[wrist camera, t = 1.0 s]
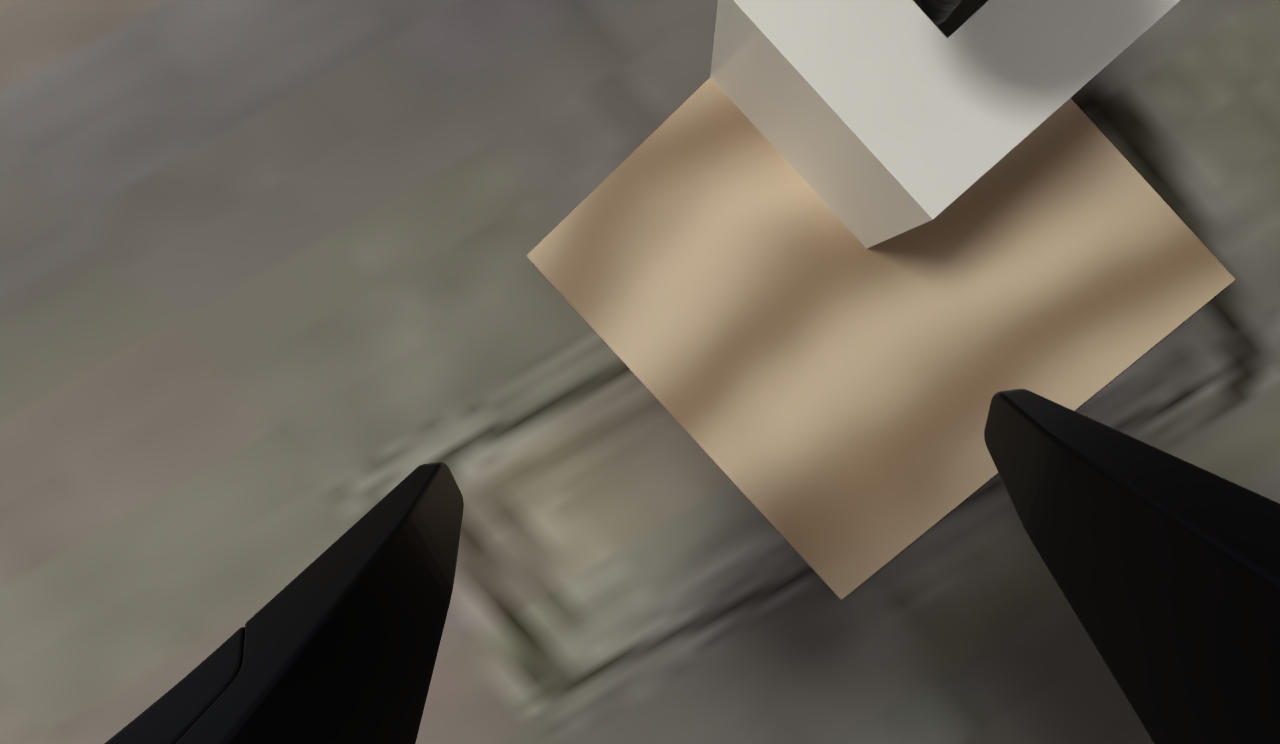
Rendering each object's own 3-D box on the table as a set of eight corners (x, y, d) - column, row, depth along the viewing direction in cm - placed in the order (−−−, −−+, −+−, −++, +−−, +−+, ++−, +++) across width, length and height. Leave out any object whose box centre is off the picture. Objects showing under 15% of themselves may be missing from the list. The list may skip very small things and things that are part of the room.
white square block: (1054, 80, 21) (1197, -16, 15) (866, 248, 22) (932, 219, 16) (891, -99, 21) (971, -265, 15) (710, 77, 22) (719, -15, 16)
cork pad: (1222, 280, 22) (1235, 279, 21) (838, 594, 24) (841, 600, 23) (886, -89, 22) (891, -99, 21) (529, 257, 24) (526, 255, 23)
